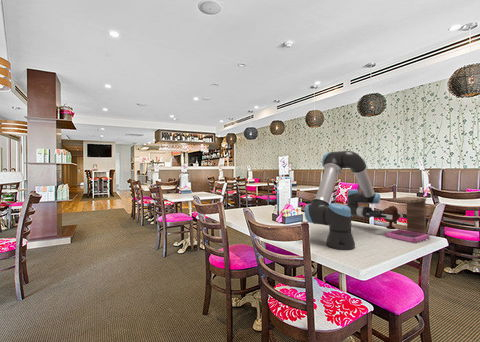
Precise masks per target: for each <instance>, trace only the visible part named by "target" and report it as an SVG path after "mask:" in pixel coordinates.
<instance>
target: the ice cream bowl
mask: <svg viewBox="0 0 480 342" xmlns="http://www.w3.org/2000/svg"><path fill="white" fill-rule="evenodd" d="M382 211H383V213H381V215H382V214H387V215H392V220H391V219H385V218H382V219H383V221H386V222H388V223H389V224H388V226H386V227H385V228H386V229H388V230H397V229H396V227H395V226H393V223H395V222H397V221H398V220H399V219H400V214H398V213H399V209H398V208H397V207H396V206H394V205H389V206H388V207H386V208H384V209H383V210H382Z"/></svg>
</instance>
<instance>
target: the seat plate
mask: <svg viewBox="0 0 480 342" xmlns="http://www.w3.org/2000/svg"><path fill="white" fill-rule="evenodd" d="M384 234H385V237H386V238H391V239H395V240H398V241H403V242H408V243H413V244H418V243H421V242H424V241H427V240H426V239H428V240H430V239H431V238H430V234H427V233H426V234H423V233H417V232H412V231H407V230H405V229H394V230H391V231H387V232H384ZM429 238H430V239H429ZM423 240H424V241H423ZM420 241H421V242H420ZM417 242H418V243H417Z"/></svg>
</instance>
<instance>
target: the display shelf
mask: <svg viewBox="0 0 480 342" xmlns="http://www.w3.org/2000/svg"><path fill="white" fill-rule="evenodd" d="M426 201H427V197H417V196H403V197H402V196H401V197H396V198H395V197H394V198H390V202H392V203H393V202H394V203H395V202H396V203H406V229H407V230H406V231H412V232H417V233H423V234H427V215H426V214H427V213H426V211H427V210H426Z"/></svg>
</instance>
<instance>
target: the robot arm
mask: <svg viewBox="0 0 480 342" xmlns="http://www.w3.org/2000/svg"><path fill="white" fill-rule="evenodd" d="M321 162H322V163H321V164H322V168H323V169H324V172H323V175H322V177H321V180H320V184H319V186H318V190H317V192H316V194H315V198H312V199H311V202H310V203H307V204H306V205H305V207H304V217H305V219H306V221H307V222H308V223H311V224H314V225H323V226H328V227H329V231H328V235H327V239H326V241H325V242H326V246H327V247H329V248H332V249H336V250H343V251H344V250H345V251H347V250H353V249H355V248H356V242H355V240H354V236H353V233H352V216H355V217H356V216H357V217H360V218H367V219H368V218H376V219H379V220H381V219H383V218H385V219H391V220H392V215H387V214H382V215H381V213H383V210H379V209H378V210H376V209H373V208H372V207H369V206H365V205H364V206H363V205H359V204H360V203H361V204H372V205H374V204H375V205H377V204H378V205H379V204H380V202H381V195H380V193H377V192H375V190H374V187H373V183H371V180H370V177H369V174H368V172H367V171H368V170H367V164H366V161H365V159H364V158H362V156H360V155H359V153H357V152H355V151H352V150H342V151H341V150H339V151H330V152H329V151H328V152H326V153H324V154H323V156H322V160H321ZM344 169H349V170H350V171H351V172H352V173H353V175H354V176H355V178H356V181H357V183H358V185H359V187H360V190H361V192H360V191H359V190H358V189H348V190H347V198H346V199H347V204H341V203H333V202H332V203H330V201H331V197H332V195H333V191H334V188H335V184H336V182H337V178H338V175H339V174H341V173H342V171H343V170H344ZM398 214H400V218H403V213H401V212H400V213H399V212H398ZM400 218H399V219H400Z"/></svg>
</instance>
